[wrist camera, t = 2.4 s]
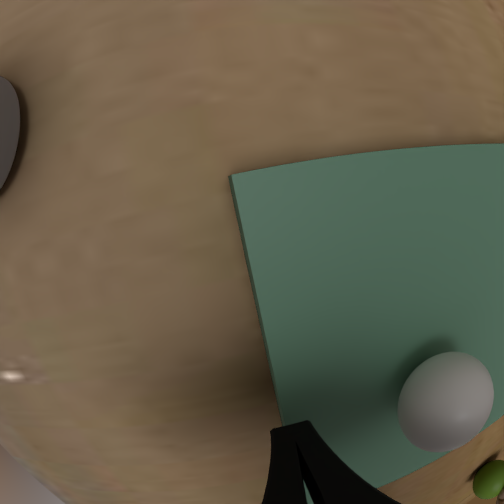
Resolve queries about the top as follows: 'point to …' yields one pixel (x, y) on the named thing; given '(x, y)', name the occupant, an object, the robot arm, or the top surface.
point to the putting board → (374, 286)
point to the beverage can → (8, 127)
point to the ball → (445, 402)
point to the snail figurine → (490, 481)
